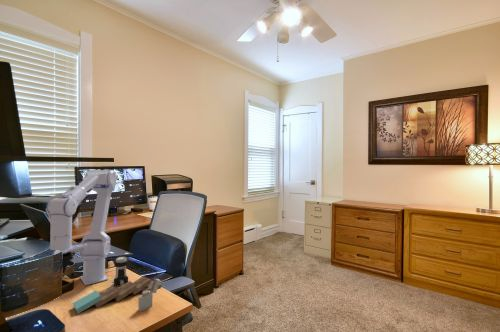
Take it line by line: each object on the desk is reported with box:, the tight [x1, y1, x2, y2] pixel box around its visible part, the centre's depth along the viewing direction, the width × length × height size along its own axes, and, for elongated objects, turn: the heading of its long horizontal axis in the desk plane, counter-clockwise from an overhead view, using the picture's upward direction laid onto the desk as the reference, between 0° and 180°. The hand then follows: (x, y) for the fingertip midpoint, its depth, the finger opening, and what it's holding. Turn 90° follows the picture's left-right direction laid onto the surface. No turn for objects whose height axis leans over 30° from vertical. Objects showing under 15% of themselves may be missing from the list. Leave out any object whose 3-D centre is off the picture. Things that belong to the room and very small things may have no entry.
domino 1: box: [72, 290, 102, 314], centre depth 86 cm, size 5×2×7 cm
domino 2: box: [139, 280, 162, 294], centre depth 100 cm, size 5×2×7 cm
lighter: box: [137, 278, 161, 312], centre depth 87 cm, size 7×2×8 cm, turn 146°
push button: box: [108, 256, 130, 287], centre depth 102 cm, size 7×5×10 cm
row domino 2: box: [113, 280, 137, 303], centre depth 93 cm, size 5×2×7 cm
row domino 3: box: [130, 275, 152, 296], centre depth 98 cm, size 5×2×7 cm
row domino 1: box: [94, 285, 119, 309], centre depth 89 cm, size 5×2×7 cm
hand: (60, 276), depth 86 cm, fingers closed
